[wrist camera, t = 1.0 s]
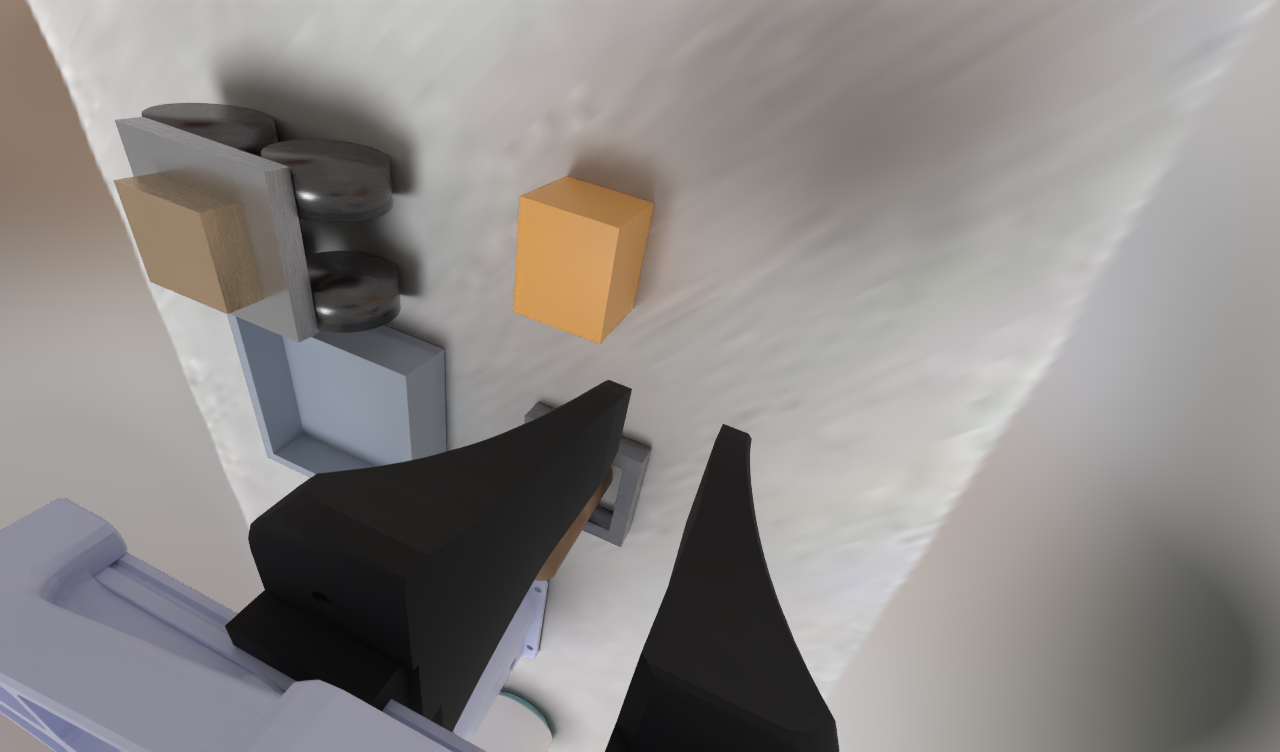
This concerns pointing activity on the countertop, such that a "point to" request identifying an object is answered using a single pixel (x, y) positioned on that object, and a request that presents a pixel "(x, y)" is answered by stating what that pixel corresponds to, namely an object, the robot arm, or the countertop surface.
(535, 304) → the block
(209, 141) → the trolley
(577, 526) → the pin
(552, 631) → the countertop surface
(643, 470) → the socket ring
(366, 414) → the tray
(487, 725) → the can
